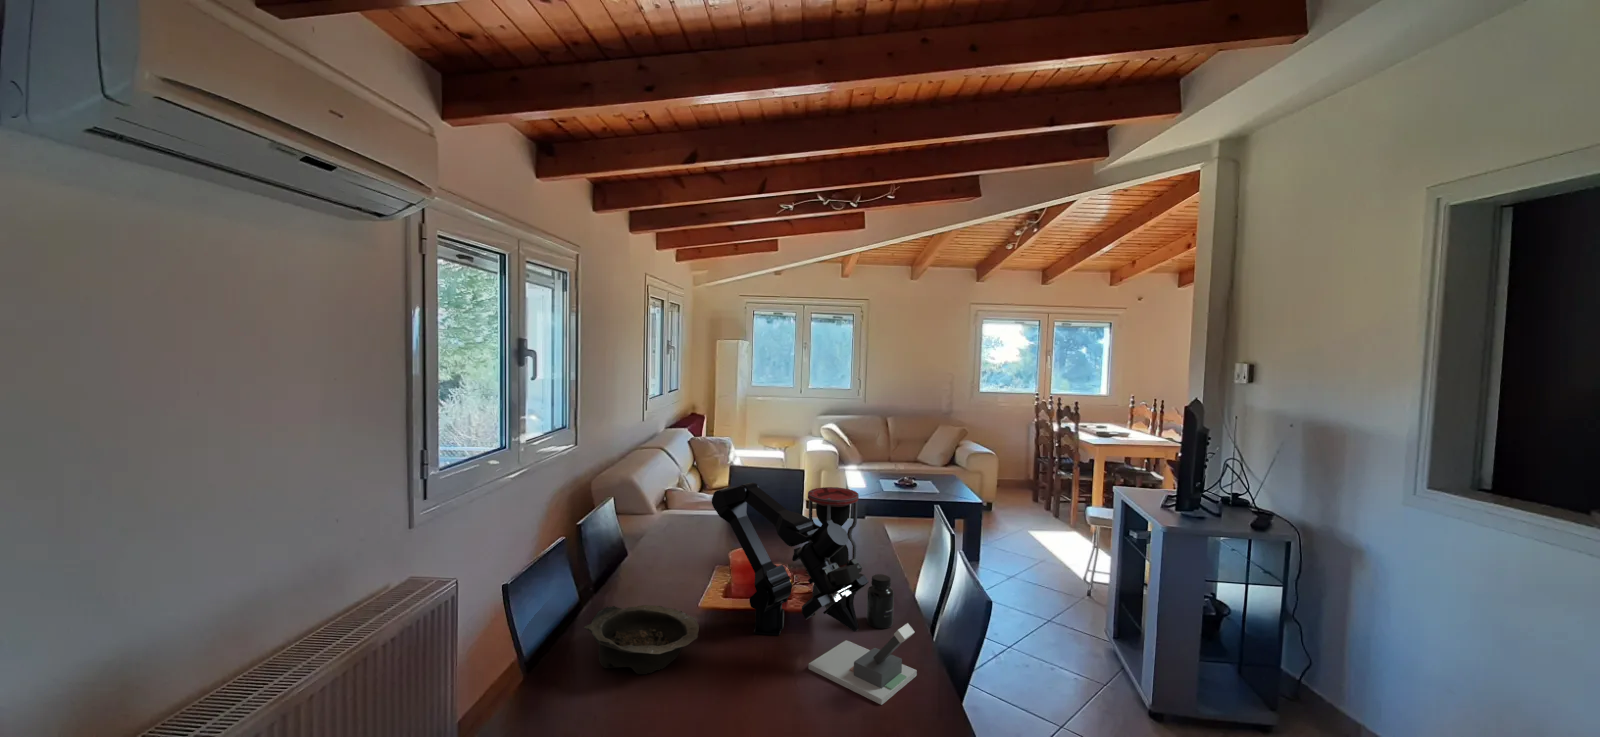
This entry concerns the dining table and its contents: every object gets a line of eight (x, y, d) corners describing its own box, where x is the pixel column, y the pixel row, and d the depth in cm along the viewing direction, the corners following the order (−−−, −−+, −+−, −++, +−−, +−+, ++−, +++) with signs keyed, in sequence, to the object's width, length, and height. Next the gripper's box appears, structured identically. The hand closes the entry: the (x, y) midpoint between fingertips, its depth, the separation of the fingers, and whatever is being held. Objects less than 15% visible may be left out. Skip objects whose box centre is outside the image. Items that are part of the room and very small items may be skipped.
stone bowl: (560, 671, 125) (562, 628, 125) (633, 628, 148) (635, 592, 149) (657, 697, 116) (659, 650, 116) (719, 647, 139) (720, 608, 140)
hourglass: (860, 564, 190) (861, 488, 189) (853, 583, 175) (855, 501, 174) (811, 559, 194) (813, 485, 193) (801, 577, 178) (802, 497, 177)
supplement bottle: (892, 631, 146) (893, 584, 146) (865, 627, 148) (866, 581, 147) (893, 618, 153) (894, 573, 152) (867, 615, 154) (868, 571, 154)
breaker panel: (808, 668, 128) (808, 650, 128) (846, 644, 139) (846, 627, 139) (881, 705, 116) (882, 684, 116) (916, 675, 126) (917, 656, 126)
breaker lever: (871, 656, 123) (897, 629, 119) (881, 649, 126) (907, 623, 122) (878, 665, 122) (905, 639, 118) (888, 658, 125) (914, 632, 121)
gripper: (813, 560, 124) (854, 629, 117) (863, 539, 138) (902, 599, 131) (785, 586, 129) (822, 652, 123) (835, 563, 143) (871, 622, 137)
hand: (856, 630), depth 128 cm, fingers closed
